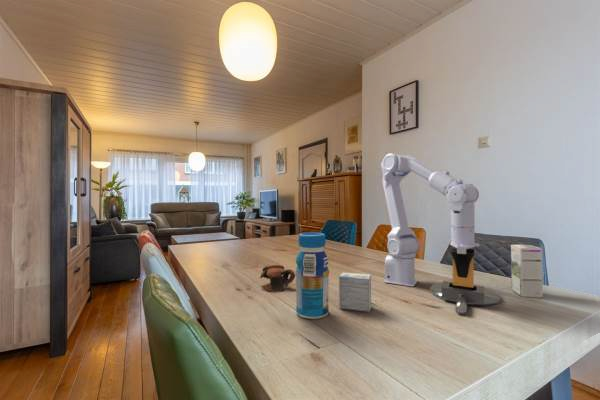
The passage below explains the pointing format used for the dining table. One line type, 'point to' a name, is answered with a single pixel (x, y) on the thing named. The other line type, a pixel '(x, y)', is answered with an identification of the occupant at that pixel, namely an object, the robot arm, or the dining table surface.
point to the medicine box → (355, 291)
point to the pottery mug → (277, 277)
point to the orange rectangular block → (461, 280)
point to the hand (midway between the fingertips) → (462, 275)
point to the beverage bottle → (312, 277)
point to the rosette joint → (465, 295)
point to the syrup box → (527, 270)
